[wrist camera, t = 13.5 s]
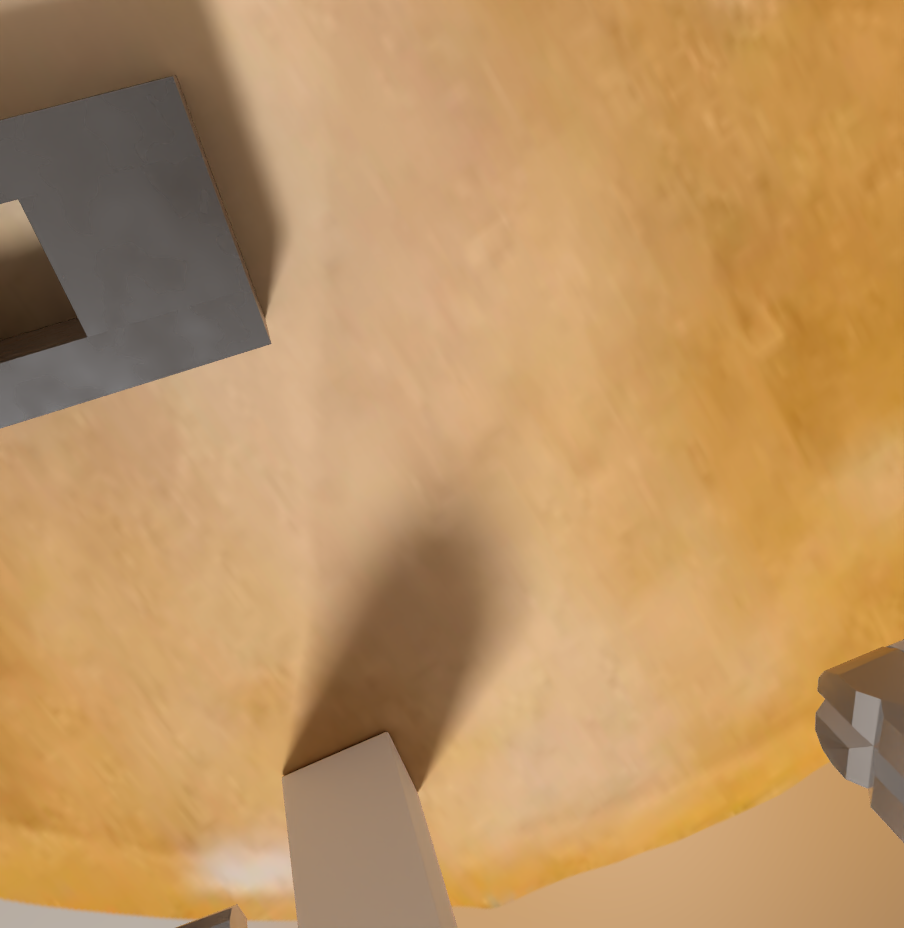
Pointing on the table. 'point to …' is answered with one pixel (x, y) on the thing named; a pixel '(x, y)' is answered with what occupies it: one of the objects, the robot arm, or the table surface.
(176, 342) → the post block
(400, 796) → the milk carton
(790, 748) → the table surface
